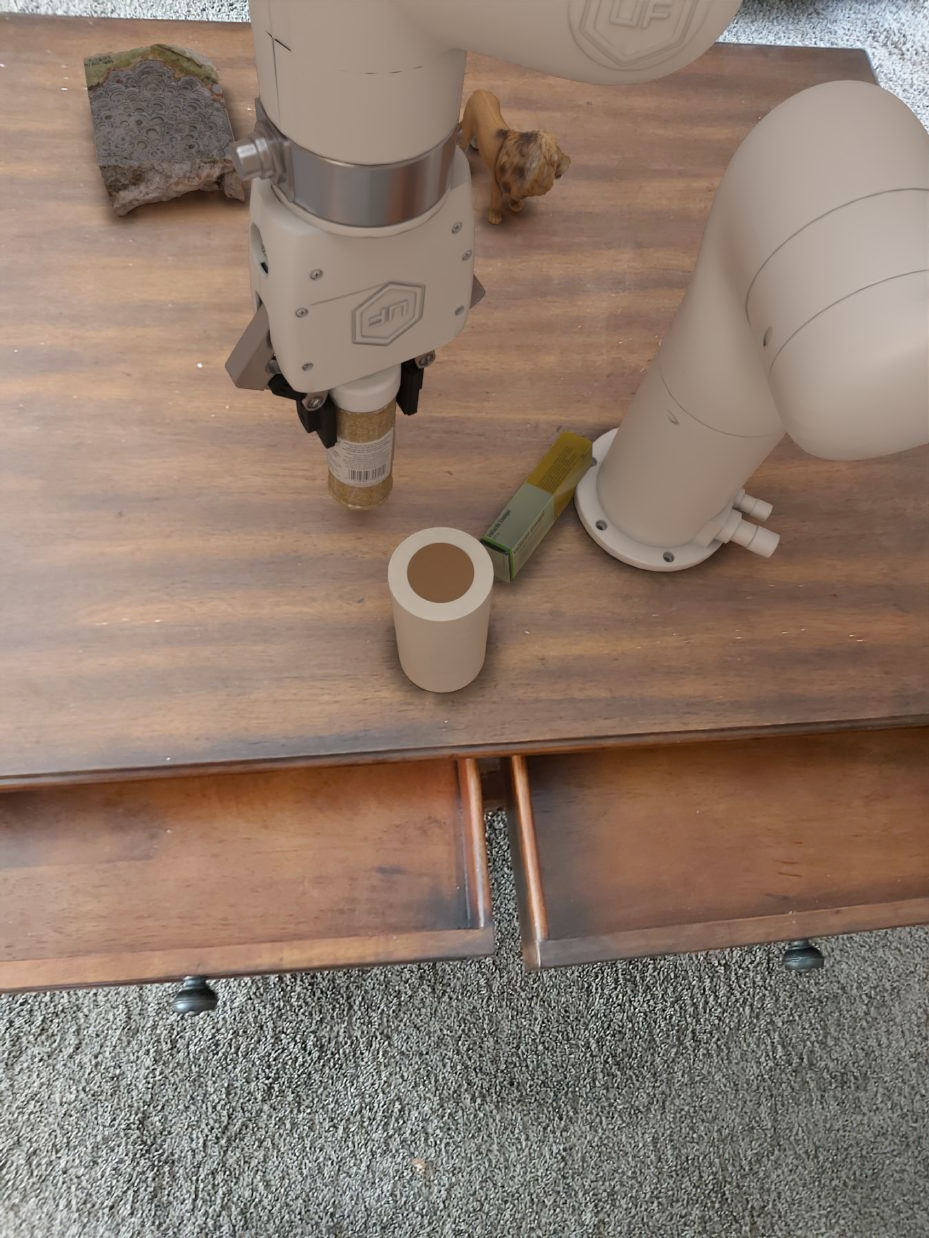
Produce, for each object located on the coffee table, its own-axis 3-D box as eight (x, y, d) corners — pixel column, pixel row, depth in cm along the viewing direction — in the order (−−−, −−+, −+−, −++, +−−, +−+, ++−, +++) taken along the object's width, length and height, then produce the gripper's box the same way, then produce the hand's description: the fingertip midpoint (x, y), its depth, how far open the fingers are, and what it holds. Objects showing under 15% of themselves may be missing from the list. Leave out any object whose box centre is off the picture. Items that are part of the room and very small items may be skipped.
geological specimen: (99, 177, 64) (73, 34, 68) (122, 236, 70) (97, 101, 74) (240, 160, 66) (206, 22, 70) (250, 219, 71) (219, 88, 76)
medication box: (511, 587, 61) (507, 557, 57) (480, 572, 62) (474, 541, 58) (593, 473, 65) (594, 439, 61) (563, 460, 66) (562, 425, 62)
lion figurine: (561, 232, 74) (586, 141, 66) (513, 254, 72) (533, 164, 64) (467, 126, 77) (479, 27, 69) (419, 144, 76) (426, 46, 68)
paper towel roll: (498, 633, 59) (510, 550, 47) (462, 707, 56) (466, 637, 45) (422, 600, 59) (416, 511, 48) (383, 671, 57) (368, 594, 46)
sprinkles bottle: (394, 459, 59) (404, 328, 46) (390, 516, 57) (399, 396, 44) (329, 454, 58) (320, 320, 46) (323, 511, 56) (313, 388, 44)
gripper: (195, 272, 29) (255, 517, 46) (587, 145, 34) (512, 410, 51) (115, 129, 31) (200, 415, 48) (496, 29, 36) (452, 321, 53)
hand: (360, 410), depth 49 cm, fingers closed on sprinkles bottle, 4 cm apart
